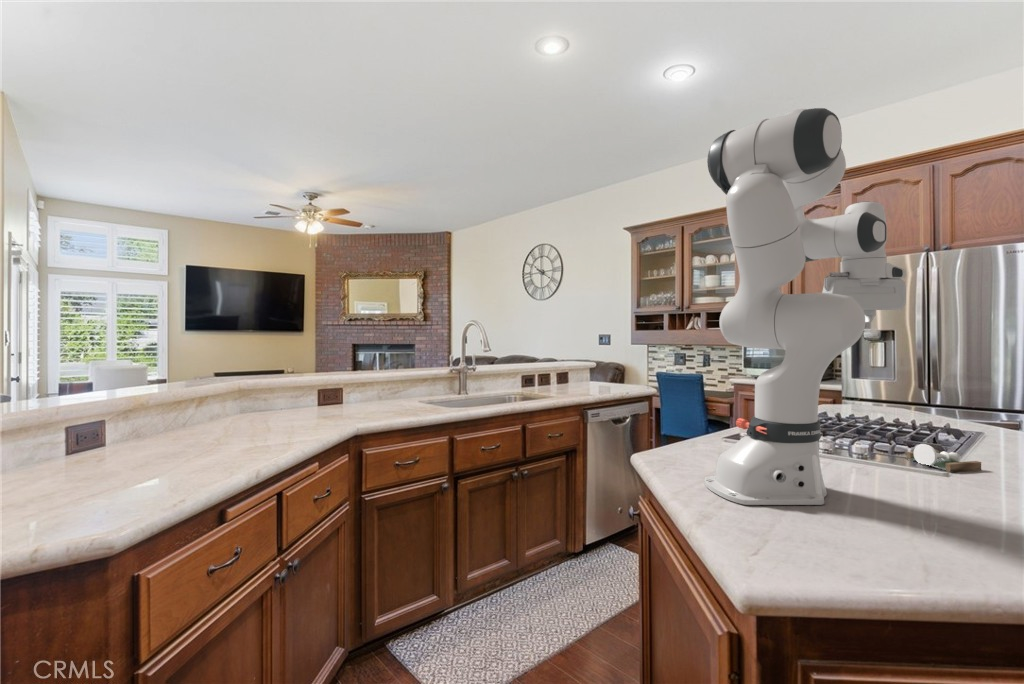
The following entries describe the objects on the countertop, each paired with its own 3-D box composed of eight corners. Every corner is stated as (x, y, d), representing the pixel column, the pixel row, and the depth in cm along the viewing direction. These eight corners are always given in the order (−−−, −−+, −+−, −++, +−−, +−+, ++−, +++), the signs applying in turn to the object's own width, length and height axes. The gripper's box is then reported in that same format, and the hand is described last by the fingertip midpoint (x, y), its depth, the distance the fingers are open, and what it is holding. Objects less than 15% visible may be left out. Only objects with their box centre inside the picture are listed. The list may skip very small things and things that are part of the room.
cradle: (950, 472, 105) (950, 464, 105) (906, 459, 115) (906, 452, 115) (981, 470, 106) (981, 462, 106) (935, 457, 116) (935, 450, 116)
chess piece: (937, 464, 107) (975, 466, 108) (931, 442, 108) (968, 444, 110) (916, 467, 111) (952, 469, 113) (910, 445, 113) (946, 447, 115)
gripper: (835, 270, 111) (834, 330, 112) (912, 270, 114) (911, 328, 115) (814, 273, 118) (814, 330, 118) (887, 273, 121) (886, 328, 121)
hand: (862, 329), depth 117 cm, fingers closed
